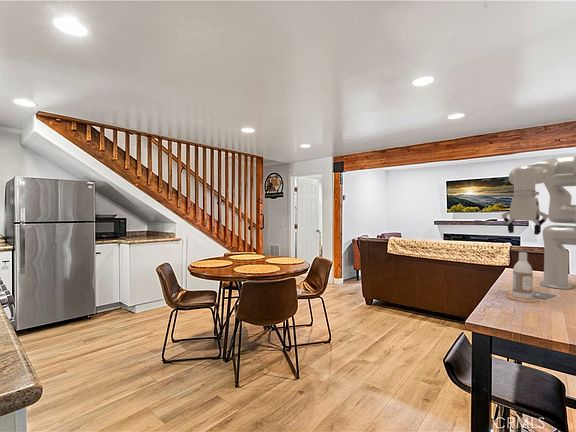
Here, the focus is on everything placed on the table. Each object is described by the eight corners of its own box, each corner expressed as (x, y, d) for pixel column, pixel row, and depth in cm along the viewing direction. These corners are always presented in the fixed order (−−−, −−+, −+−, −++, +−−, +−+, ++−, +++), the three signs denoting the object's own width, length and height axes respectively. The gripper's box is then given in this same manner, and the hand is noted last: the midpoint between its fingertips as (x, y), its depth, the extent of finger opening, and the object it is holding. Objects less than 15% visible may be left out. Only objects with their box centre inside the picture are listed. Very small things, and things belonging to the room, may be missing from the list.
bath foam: (518, 299, 135) (519, 253, 135) (509, 294, 142) (509, 251, 141) (535, 299, 134) (536, 253, 134) (525, 295, 141) (526, 251, 141)
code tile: (525, 289, 153) (525, 289, 153) (556, 295, 143) (556, 295, 143) (514, 293, 147) (514, 292, 147) (545, 299, 137) (545, 299, 137)
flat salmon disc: (513, 294, 146) (513, 292, 146) (542, 300, 136) (542, 298, 136) (502, 297, 140) (502, 296, 140) (531, 303, 130) (531, 302, 130)
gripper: (552, 194, 132) (551, 234, 132) (506, 195, 146) (505, 231, 147) (545, 194, 128) (544, 235, 128) (498, 195, 142) (497, 232, 143)
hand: (523, 233), depth 138 cm, fingers open, 9 cm apart
